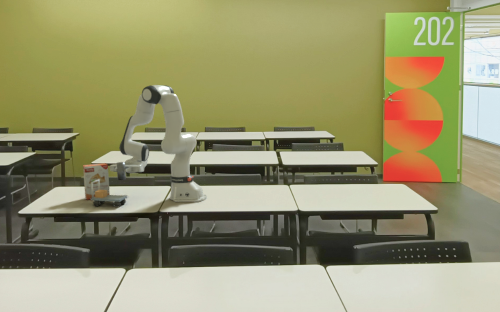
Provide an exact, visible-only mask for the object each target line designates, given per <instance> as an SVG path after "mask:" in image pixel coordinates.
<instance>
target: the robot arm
mask: <svg viewBox="0 0 500 312" xmlns="http://www.w3.org/2000/svg"><path fill="white" fill-rule="evenodd" d="M158 104H159V105H160V106H161V108H162V113H163V117H164V123H165V134H164V137H163V138H162V141H161V144H160V146H161V150H162V152H163V153H165V154H166V155H174V158H173V159H172V160H171V162H170V173H171V175H170V185H171V186H170V187H171V188H170V190H171V191H170V195H169V199H170V200H171V201H173V202H175V203H178V202H179V203H188V202H189V203H191V202H193V203H194V202H195V203H198V202H199V203H200V202H202V201H204V200H206V199H207V198H208V196H207V194H204V190H203V187H202V186H201V185H199V184H198V183H196V182H195V181H194V175H191V174H190V172H191V171H190V170H191V169H190V163H191V162H190V161H191V157H192V153H193V151H194V149H195V148H196V146H197V142H198V141H197V138H196V136H195V135H194V134H192V133H182V128H183V126H184V125H185V118H184V113H183V109H182V105H181V102H180V100H179V97H178V95H177V94H176V93H175V92H174V89H173V88H172V87H171V86H169V85H163V84H162V85H159V84H152V85H147V86H145V87H144V88H143V89H142V91H141V94H140V95H139V96H138V99H137V104H136V106H135V107H136V108H135V113H134V114H133V115H131V116H130V117H129V119H128V122H127V124H126V127H125V129H124V130H125V131H124V133H123V136H122V140H121V142H120V143H119V151H120V154H122V155H123V156H130V157H132V158H129V159H127V160H125V161H124V162H125V169H124V172H126V173H128V174H134V173H142V172H145V168H146V166H147V165H148V163H149V162H148V158H149V156H150V149H149V146H148V144H146V143H143V142H138V141H135V140H133V139H132V137H133V133H134V131H135V128H136V127H137V126H145V125H148V124H150V123H151V122H152V121H153V119H154V114H155V107H156V105H158ZM109 170H110V172H114V173H115V172H116V173H117V163H113V164H111V165H109Z"/></svg>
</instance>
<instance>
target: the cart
mask: <svg viewBox="0 0 500 312" xmlns="http://www.w3.org/2000/svg"><path fill="white" fill-rule="evenodd" d="M97 181H98V190H100V180H99V179H98V180H95V181H93V182H91V191H92V198H91V199H90V201H93V202H92V205H93V206H94V207H98V206H100V205H101V204H104V203H106V202H113V207H114V208H119V207H120V206H121V205H124V204H126V199H127V198H128V195H118V194H117V195H116V194H110V195H107V196H106V197H104V198H95V197H94V193H93V183H95V182H97Z"/></svg>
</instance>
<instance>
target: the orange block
mask: <svg viewBox="0 0 500 312" xmlns="http://www.w3.org/2000/svg"><path fill="white" fill-rule="evenodd" d="M106 196H107V190H97V191H95V198H104V197H106Z"/></svg>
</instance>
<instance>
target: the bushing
mask: <svg viewBox="0 0 500 312" xmlns="http://www.w3.org/2000/svg"><path fill="white" fill-rule="evenodd" d="M116 164H117V172H116V176H117V180H118V181H125V180H127V172H124V169H125V161H120V162H119V161H118V162H116Z"/></svg>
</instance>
